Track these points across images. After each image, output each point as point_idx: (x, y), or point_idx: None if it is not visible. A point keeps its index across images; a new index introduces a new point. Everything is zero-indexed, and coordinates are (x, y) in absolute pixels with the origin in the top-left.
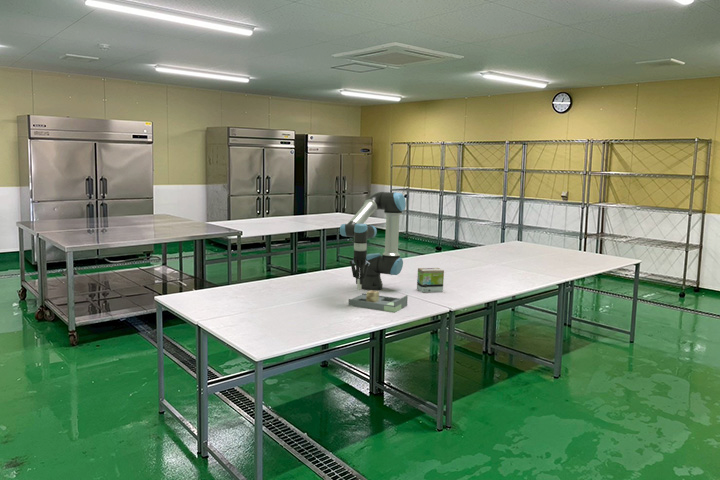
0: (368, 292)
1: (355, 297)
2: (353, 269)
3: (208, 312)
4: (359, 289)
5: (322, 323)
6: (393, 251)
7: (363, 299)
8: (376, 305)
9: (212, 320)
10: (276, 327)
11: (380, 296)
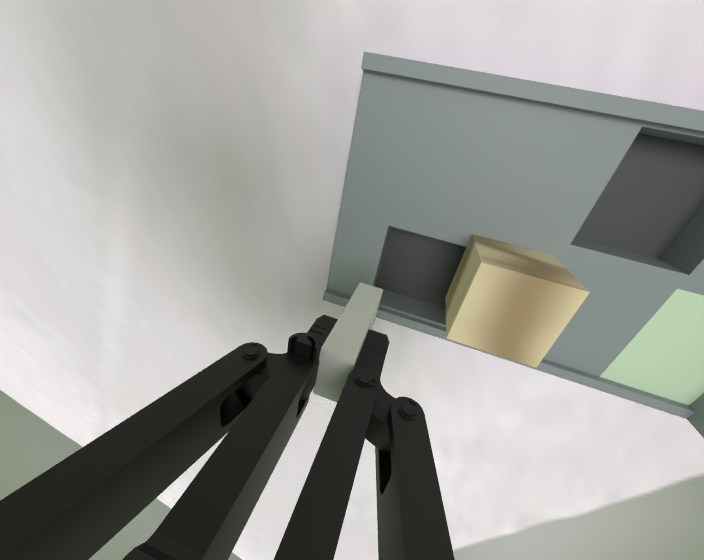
0: (466, 344)
1: (342, 209)
2: (160, 492)
3: (56, 408)
4: (373, 323)
5: None
6: None
7: (411, 230)
8: None
9: None
10: None
11: (581, 109)
